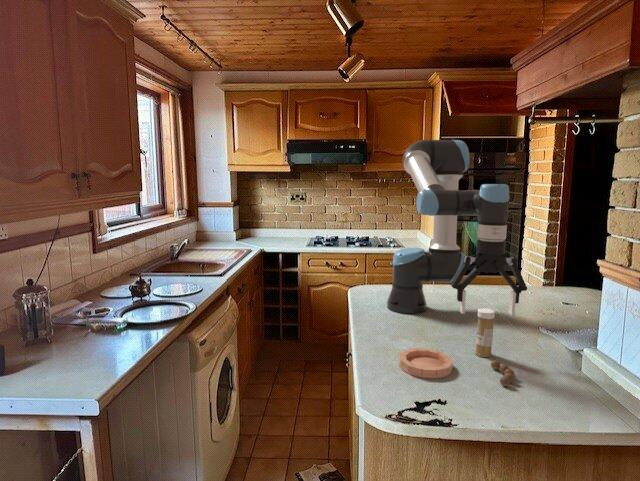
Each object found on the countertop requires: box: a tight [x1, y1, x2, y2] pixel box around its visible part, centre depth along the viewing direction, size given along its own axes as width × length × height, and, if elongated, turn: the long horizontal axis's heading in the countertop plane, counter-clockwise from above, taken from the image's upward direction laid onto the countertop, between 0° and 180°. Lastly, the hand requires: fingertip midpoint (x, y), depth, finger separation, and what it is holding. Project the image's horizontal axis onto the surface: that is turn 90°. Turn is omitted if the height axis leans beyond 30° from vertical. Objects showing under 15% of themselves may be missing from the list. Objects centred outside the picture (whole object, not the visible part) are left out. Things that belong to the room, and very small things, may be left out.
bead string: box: [490, 360, 515, 387], centre depth 110 cm, size 12×5×2 cm, turn 174°
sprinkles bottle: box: [474, 307, 496, 358], centre depth 123 cm, size 5×5×13 cm
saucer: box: [398, 347, 453, 380], centre depth 115 cm, size 14×14×2 cm
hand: (486, 313), depth 121 cm, fingers open, 13 cm apart
